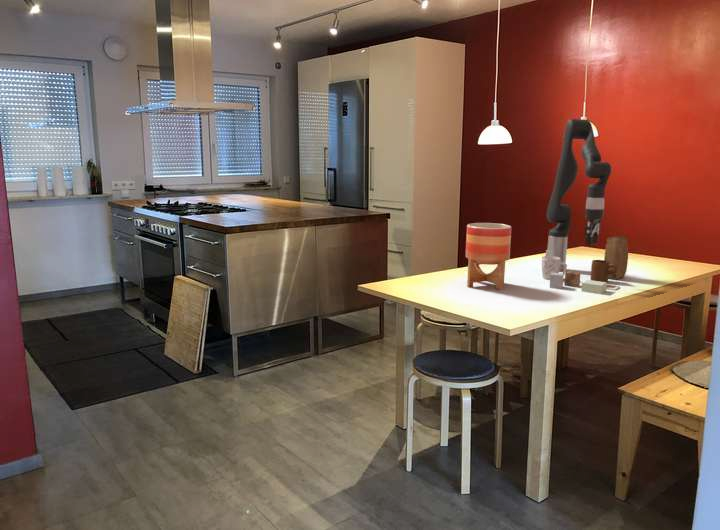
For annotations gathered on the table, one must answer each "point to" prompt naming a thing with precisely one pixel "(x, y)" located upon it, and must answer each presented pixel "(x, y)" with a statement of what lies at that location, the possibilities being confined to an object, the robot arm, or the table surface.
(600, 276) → the mug
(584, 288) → the base block
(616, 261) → the brown tall piece
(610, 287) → the tile
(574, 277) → the walnut block
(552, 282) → the grey block
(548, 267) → the mug
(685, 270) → the table surface
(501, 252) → the planter
